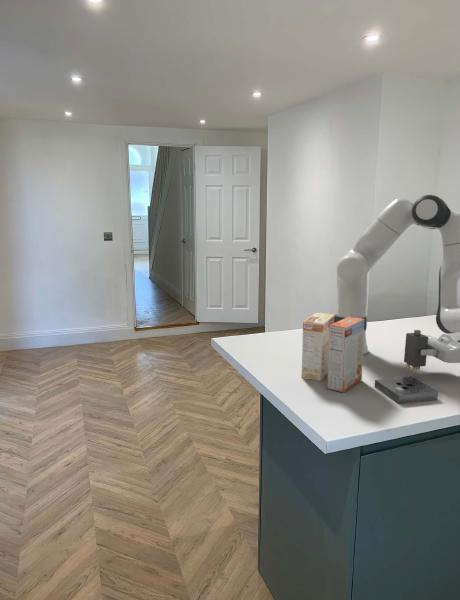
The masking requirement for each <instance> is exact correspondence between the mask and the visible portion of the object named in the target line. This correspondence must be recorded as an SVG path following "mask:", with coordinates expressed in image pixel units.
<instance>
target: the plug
mask: <svg viewBox="0 0 460 600" xmlns="http://www.w3.org/2000/svg"><path fill="white" fill-rule="evenodd" d="M425 335H426V334H423V333H422V332H421V330H420V329H414V330H413V332H408V333H405V342H404V343H405V346H404V357H403V362H404V363H406V367H405V368H406V369H408V370H410V368H411V372H413V373H416V371H417V370H421V368H422V367H426V365H427V355H420V354H419V349H427V346H428V337H427V336H425Z"/></svg>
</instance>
